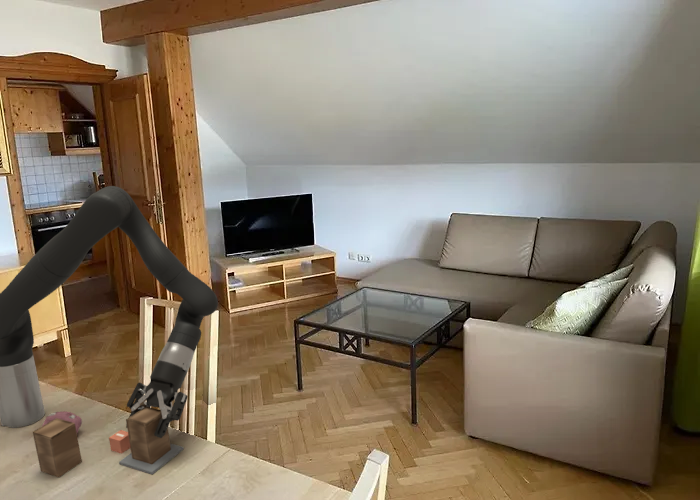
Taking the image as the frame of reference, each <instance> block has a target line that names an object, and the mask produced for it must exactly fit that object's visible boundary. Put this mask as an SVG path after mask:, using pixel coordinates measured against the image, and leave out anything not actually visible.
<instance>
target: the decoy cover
mask: <svg viewBox="0 0 700 500" xmlns="http://www.w3.org/2000/svg"><path fill="white" fill-rule="evenodd" d="M32 436H33V440H34V446H35V449H36V455H37V460H38V463H39V469H40V472H42V473H43V474H44V473H45V474H47V475H51V476H53V477H57V478H60V477H62V476H63V475H65V474H66V473H68V472H69V471H71V470H72V469H74V468H75V467H77V466H78V465H80V464H81V463H83V459H82V455H81V450H80V444H79V438H78V433H77V432H76V427H75V423H72V422H69V421H65V420H62V419H58V418H56V419H54V420H52V421H51V422H49V423H47V424H45V425H44V426H42V425H41V426H40V427H39V428H37V429H35V430H34V431H32Z"/></svg>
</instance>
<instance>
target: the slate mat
mask: <svg viewBox="0 0 700 500" xmlns="http://www.w3.org/2000/svg"><path fill="white" fill-rule="evenodd" d="M170 447H171V450H170V451H168V452H167V453H166V454H165V455H163V456H162V457H161V458H160V459H158V460H157V461H156V462H154V463H153V464H149V463H146V462H142V461H139V460H136V459H132V454H131V452H130V453H129V454H128V455H126V456H125V457H123V458H122V459H121V460H119V461H118V465H121V466H123V467H127V468H131V469H134V470H137V471H139V472H144V473H146V474H150V475H151V476H152V475H154V474H156V473H157V471H159V470H160V469H161V468H162V467H164V466H165V465H166V464H168V463H169V462H170V461H171V460H172V459H174V458H175V457H176V456H177V455H178V454H180V453H181V452H183V450H184V446H181V445H177V444H174V443H171V442H170Z"/></svg>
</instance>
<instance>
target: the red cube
mask: <svg viewBox="0 0 700 500" xmlns="http://www.w3.org/2000/svg"><path fill="white" fill-rule="evenodd" d="M108 440H109V445H110V446H109V447H110V451H112V452H114V453H119V454H121V455H122V454H124V453H125V452H127V451H128V450H129V449H131V447H130V441H129V435H128V431H125V430H122V429H120V430H118V431H116V433H113V434H112V435H111V436H109V437H108Z"/></svg>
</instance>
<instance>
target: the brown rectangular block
mask: <svg viewBox="0 0 700 500" xmlns="http://www.w3.org/2000/svg"><path fill="white" fill-rule="evenodd" d="M160 419H163V418H162V412H161V410H160V409H159V408H155V407H144V408H143V409H141V410H140V411H138V412H137V413H135V414H134V415H132V416H131V417H128V418H126V419H125V421H126V423H127V428H126V429H127V432H128V435H129V441H130V447H131V448H130V453H131V454H132V459H136V460H139V461H142V462H146V463H149V464H153V463H154V462H156V461H157V460H158V459H160V458H161V457H162V456H163V455H165V454H166V453H167V452H168V451H170V450H171V447H170V443H171V441H170V434H169V433H170V432H169V427H168V428H167V431H166V433H165V435H164V436H163V437H162V438H159V437H156V436H154V433H155V431H156V429H157V426H158V424H159V422H160Z"/></svg>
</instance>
